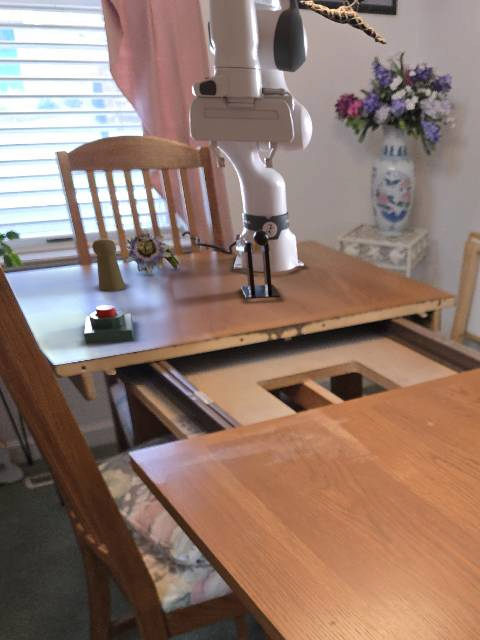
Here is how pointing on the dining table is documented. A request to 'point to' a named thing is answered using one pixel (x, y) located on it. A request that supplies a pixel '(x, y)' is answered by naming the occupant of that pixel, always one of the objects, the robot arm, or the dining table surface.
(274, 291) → the black two-post stand
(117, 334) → the button block
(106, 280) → the cork
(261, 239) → the lever
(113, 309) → the button
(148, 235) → the passion flower
